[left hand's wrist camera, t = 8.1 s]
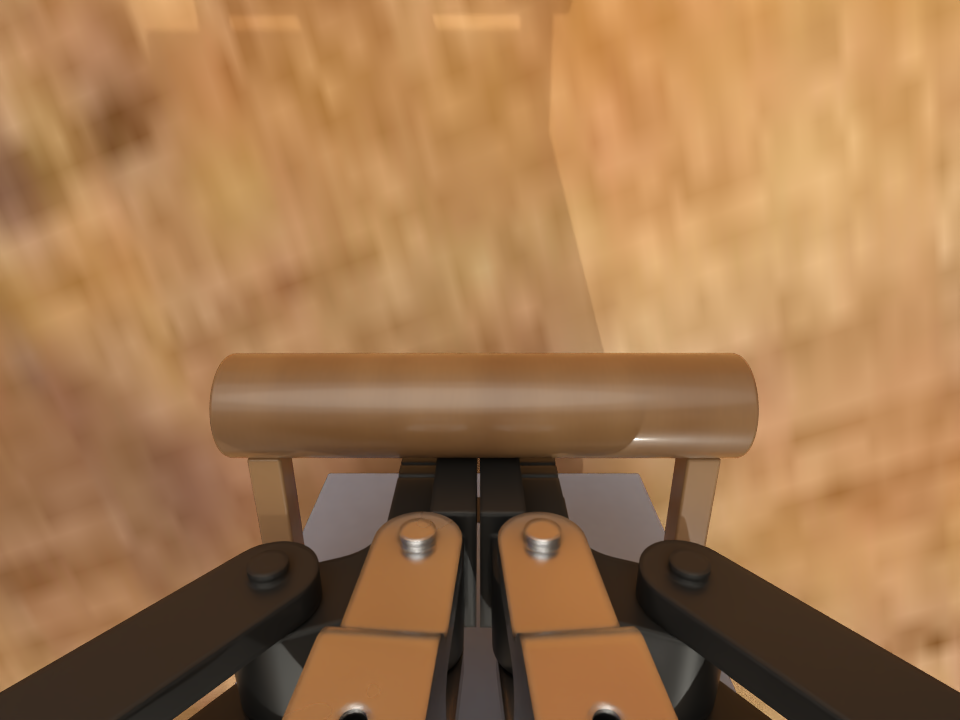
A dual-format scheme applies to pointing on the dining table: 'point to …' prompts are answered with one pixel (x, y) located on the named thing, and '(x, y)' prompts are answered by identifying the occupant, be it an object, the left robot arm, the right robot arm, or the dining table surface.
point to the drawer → (485, 443)
